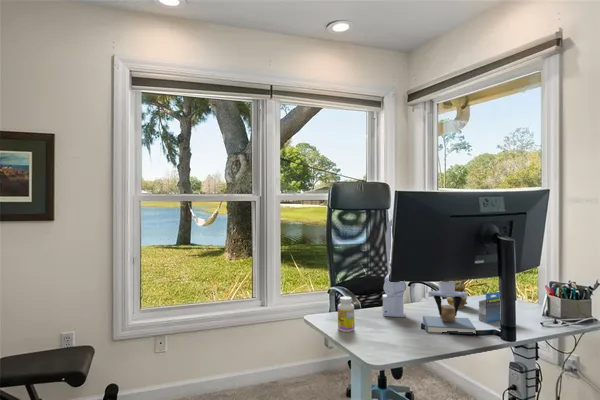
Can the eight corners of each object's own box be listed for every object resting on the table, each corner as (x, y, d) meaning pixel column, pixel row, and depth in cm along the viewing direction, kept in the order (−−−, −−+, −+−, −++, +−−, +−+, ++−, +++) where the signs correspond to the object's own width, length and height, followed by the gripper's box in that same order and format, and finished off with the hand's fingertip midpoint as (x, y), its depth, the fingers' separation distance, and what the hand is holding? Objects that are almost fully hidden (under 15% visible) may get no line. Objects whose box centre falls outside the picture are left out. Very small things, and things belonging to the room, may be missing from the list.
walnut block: (442, 320, 147) (441, 308, 147) (440, 317, 152) (439, 304, 152) (455, 321, 146) (455, 308, 146) (453, 317, 151) (452, 305, 151)
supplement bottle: (335, 328, 150) (334, 296, 151) (349, 326, 153) (349, 295, 153) (342, 333, 144) (342, 300, 144) (357, 331, 146) (357, 298, 147)
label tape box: (493, 317, 161) (492, 289, 161) (501, 320, 157) (500, 291, 157) (478, 320, 157) (477, 291, 157) (486, 323, 153) (486, 293, 153)
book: (426, 332, 144) (426, 325, 144) (422, 322, 157) (422, 315, 157) (475, 335, 140) (475, 328, 140) (468, 324, 153) (468, 318, 153)
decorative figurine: (456, 310, 173) (455, 278, 173) (442, 305, 180) (441, 275, 180) (469, 306, 177) (469, 275, 178) (455, 303, 185) (454, 273, 185)
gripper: (429, 282, 146) (429, 317, 146) (468, 283, 143) (469, 318, 143) (427, 279, 153) (427, 311, 153) (464, 280, 150) (465, 313, 150)
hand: (447, 314), depth 148 cm, fingers closed on walnut block, 5 cm apart
